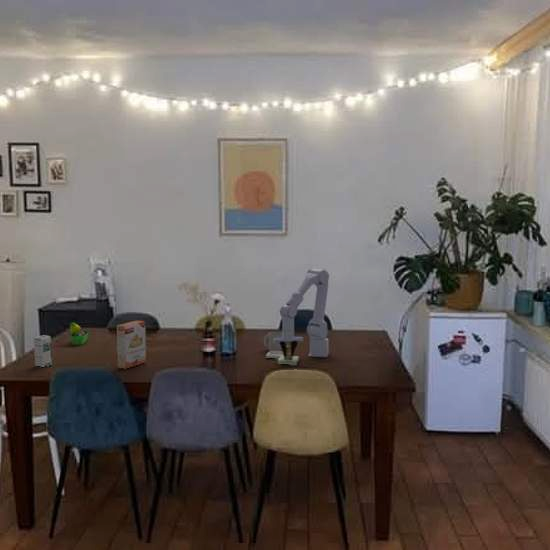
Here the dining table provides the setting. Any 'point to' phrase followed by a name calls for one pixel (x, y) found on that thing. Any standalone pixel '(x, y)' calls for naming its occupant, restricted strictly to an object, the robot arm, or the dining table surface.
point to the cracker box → (131, 344)
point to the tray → (274, 354)
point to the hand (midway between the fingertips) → (288, 356)
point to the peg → (288, 352)
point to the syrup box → (43, 350)
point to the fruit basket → (78, 334)
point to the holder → (286, 361)
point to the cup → (272, 345)
